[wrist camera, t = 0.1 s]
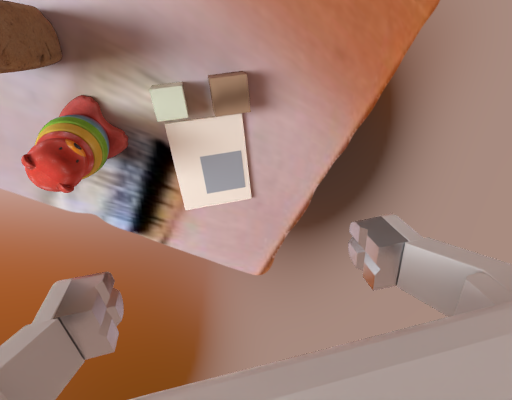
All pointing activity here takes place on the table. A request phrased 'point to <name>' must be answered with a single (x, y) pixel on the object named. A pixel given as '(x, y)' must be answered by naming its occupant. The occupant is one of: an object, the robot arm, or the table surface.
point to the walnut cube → (229, 93)
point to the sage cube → (169, 101)
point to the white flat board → (210, 160)
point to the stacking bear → (73, 146)
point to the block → (26, 38)
